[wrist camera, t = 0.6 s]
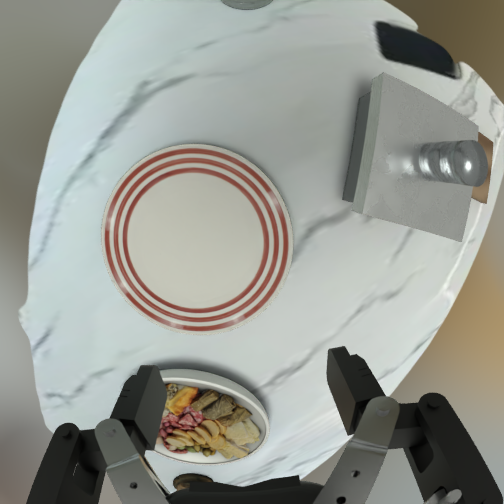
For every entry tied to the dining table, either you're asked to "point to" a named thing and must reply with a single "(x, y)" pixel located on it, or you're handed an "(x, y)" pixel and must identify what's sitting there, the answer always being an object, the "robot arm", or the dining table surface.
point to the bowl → (209, 419)
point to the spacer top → (463, 162)
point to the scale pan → (410, 160)
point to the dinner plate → (197, 239)
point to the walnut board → (482, 191)
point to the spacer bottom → (431, 161)
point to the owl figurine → (186, 478)
